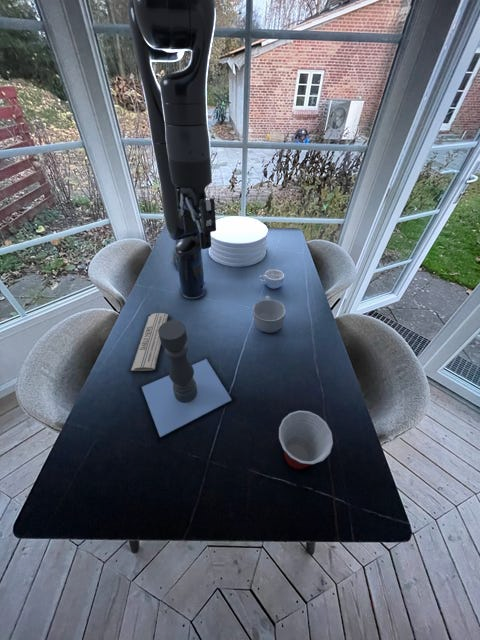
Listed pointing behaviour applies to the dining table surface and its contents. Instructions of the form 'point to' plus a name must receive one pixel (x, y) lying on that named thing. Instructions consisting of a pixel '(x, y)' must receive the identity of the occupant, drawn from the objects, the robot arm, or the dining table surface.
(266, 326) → the teacup
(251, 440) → the dining table surface
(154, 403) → the cloth
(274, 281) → the teacup
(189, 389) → the candle holder
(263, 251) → the plate stack
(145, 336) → the newspaper
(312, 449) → the plastic cup
